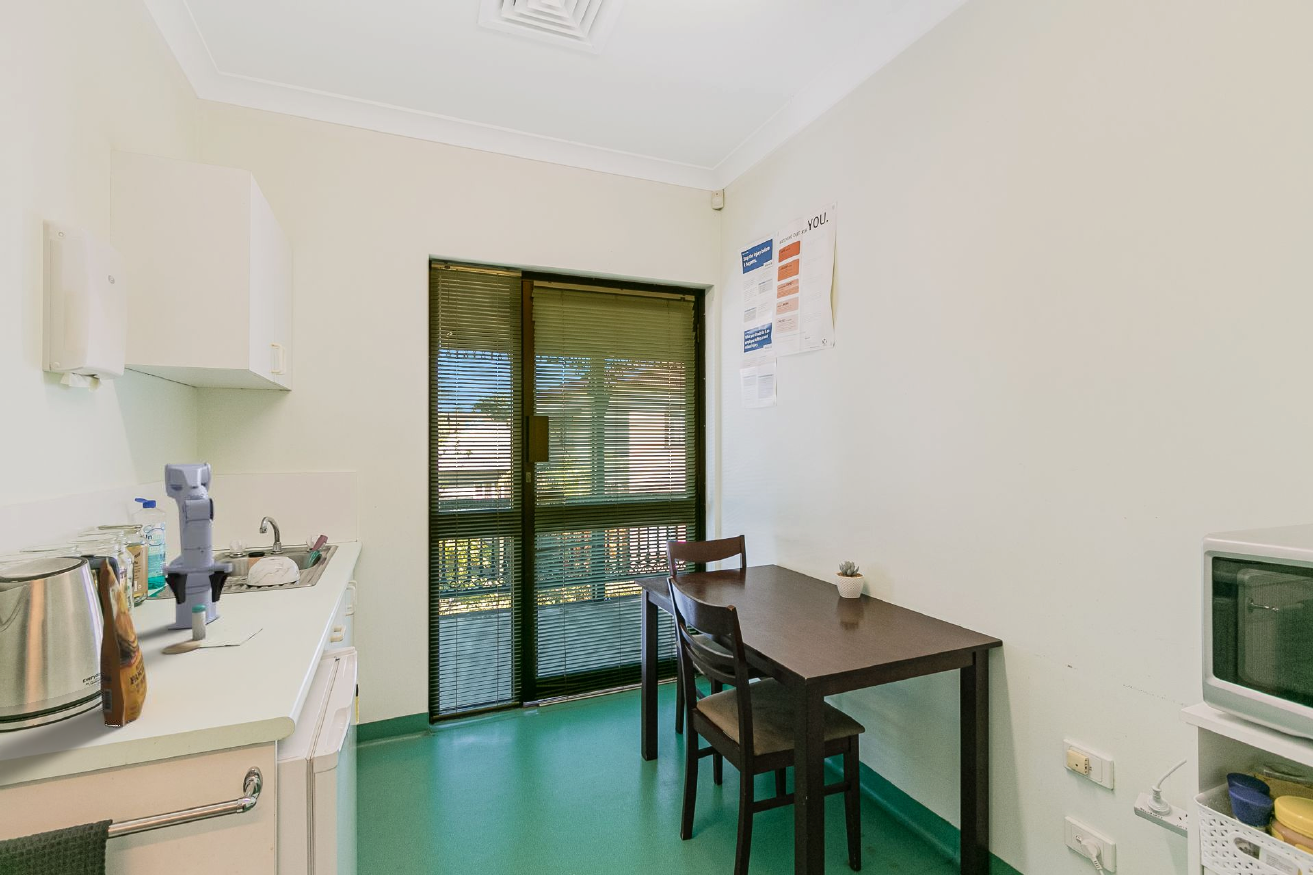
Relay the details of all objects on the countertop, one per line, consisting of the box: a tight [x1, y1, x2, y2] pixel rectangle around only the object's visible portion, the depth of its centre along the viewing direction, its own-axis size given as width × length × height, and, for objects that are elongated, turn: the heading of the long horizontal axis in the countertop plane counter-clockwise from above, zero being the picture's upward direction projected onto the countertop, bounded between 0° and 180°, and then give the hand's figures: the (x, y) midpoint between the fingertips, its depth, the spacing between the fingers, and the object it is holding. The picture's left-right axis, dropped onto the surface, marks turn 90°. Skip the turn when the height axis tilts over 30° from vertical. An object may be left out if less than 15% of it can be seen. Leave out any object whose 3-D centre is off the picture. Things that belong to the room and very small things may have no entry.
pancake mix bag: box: [99, 556, 148, 727], centre depth 109 cm, size 7×19×28 cm, turn 36°
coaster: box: [162, 641, 202, 655], centre depth 141 cm, size 7×7×1 cm
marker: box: [191, 605, 207, 641], centre depth 148 cm, size 3×3×8 cm
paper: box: [197, 630, 250, 649], centre depth 148 cm, size 12×9×1 cm
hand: (198, 602), depth 148 cm, fingers open, 7 cm apart
